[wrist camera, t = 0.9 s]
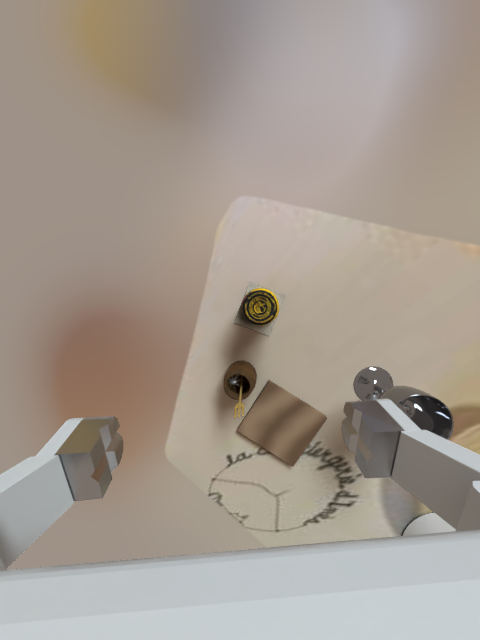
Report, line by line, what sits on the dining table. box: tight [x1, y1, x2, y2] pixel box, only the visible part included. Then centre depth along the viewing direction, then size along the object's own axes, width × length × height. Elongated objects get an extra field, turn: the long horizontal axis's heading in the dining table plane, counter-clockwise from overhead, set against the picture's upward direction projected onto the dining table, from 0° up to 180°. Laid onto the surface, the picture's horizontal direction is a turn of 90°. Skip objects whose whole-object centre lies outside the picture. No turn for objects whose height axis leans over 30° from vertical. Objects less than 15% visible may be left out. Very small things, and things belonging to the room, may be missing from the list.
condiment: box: [234, 282, 285, 336], centre depth 43 cm, size 7×8×12 cm
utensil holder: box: [224, 361, 257, 418], centre depth 44 cm, size 6×6×12 cm
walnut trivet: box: [237, 380, 327, 466], centre depth 50 cm, size 13×12×1 cm
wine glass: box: [354, 367, 454, 440], centre depth 40 cm, size 8×8×15 cm
